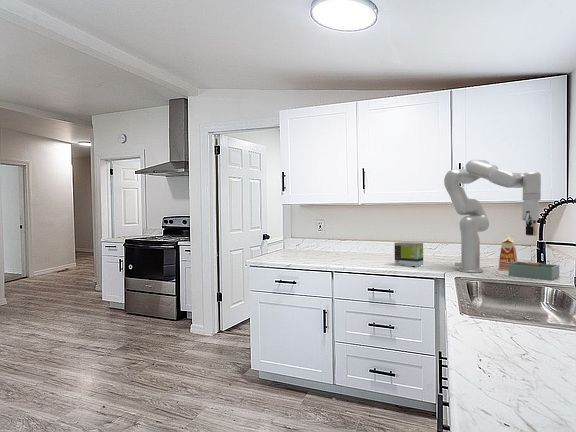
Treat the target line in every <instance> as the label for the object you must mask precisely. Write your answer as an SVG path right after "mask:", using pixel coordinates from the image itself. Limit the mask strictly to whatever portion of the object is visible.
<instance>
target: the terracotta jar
mask: <svg viewBox="0 0 576 432" xmlns="http://www.w3.org/2000/svg"><path fill="white" fill-rule="evenodd" d="M537 228H538V223H533V235H526V236H528V237H529V236H530V237H531V236H532V237H534V236H535V237H536V236H537V235H538V231H537Z"/></svg>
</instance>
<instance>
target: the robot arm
mask: <svg viewBox="0 0 576 432" xmlns="http://www.w3.org/2000/svg"><path fill="white" fill-rule="evenodd" d="M464 168H465V169H464ZM464 168H460V169H459V168H454V169H449V170H448V171H447V172H446V174H445V175H444V178H443V183H444V188H445V190H446V191H447V193H448V195H449V197H450V200H451V203H452V204H453V207H454V209H455V211H456V213H457V214H458V215H460V216H463V217H462V218H461V219H460V221H459V231H460V238H461V239H460V242H461V248H460V249H461V257H460V258H461V261H460V262H454V266H455V267H459V268H458V271H460V272H462V273H463V272H464V273H483V271H484V269H482V268H481V266H480V265H481V264H480V263H481V261H480V260H481V259H480V258H481V254H480V253H481V252H480V251H481V245H480V243H481V241H480V236H479V232H480V233H481V232H485V231H487V230H488V229H489V227H490V220H489V218H488V216H487V213H486V211H485V209H484V207H483V205H482V203H481V202H480V201H479V200H478V199H475V198H469V197H468V196H467V194H466V191H465V190H464V188H463V187H462V186H461V185H464V184H466V185H468V184H472V183H474V182H475V181H478V180H479V179H484V180H487V181H489V182H490V183H491V184H495V185H496V186H497V185H498V186H500V187H503V188H508V189H510V188H512V189H513V188H514V189H518V188H519V189H521V188H522V201H523V204H522V211H521V212H522V213H521V215H522V216H521V220H522V221H525V236H527V235H533V223H537V222H538V220H539V218H540V204H539V202H540V201H541V198H542V197H541V196H542V195H541V194H542V193H541V192H542V191H541V188H542V187H541V185H542V184H541V183H542V182H541V181H542V180H541V179H542V177H541V176H542V174H541V173H540V172H539V171H528V172H523V173H522V172H510V171H509V172H508V171H505V170H501V169H499V167H498V166H497V165H495V164H492V163H490V162H489V161H487V160H485V159H471V160H469V161H467V163H466V164H465V167H464ZM460 184H461V185H460ZM537 224H538V223H537Z"/></svg>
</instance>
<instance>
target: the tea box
mask: <svg viewBox="0 0 576 432" xmlns="http://www.w3.org/2000/svg"><path fill="white" fill-rule="evenodd" d="M399 265H404V266H403V267H410V266H415V267H414V268H419V267H418V266H420V267H422V266H421V265H423V266H424V242H417V241H416V242H415V241H397V242H394V266H399Z"/></svg>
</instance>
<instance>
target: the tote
mask: <svg viewBox="0 0 576 432" xmlns="http://www.w3.org/2000/svg"><path fill="white" fill-rule="evenodd" d="M525 263H528V262H525V261H517V262H515V263H511V264H509V271H508V276H511V277H518V278H525V279H526V278H527V279H534V280H536V279H537V280H542V281H543V280H545V281H553V280H556V279H558V278H560V265H559V264H550V263H549V264H548V263H542V267H534V266H525Z"/></svg>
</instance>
